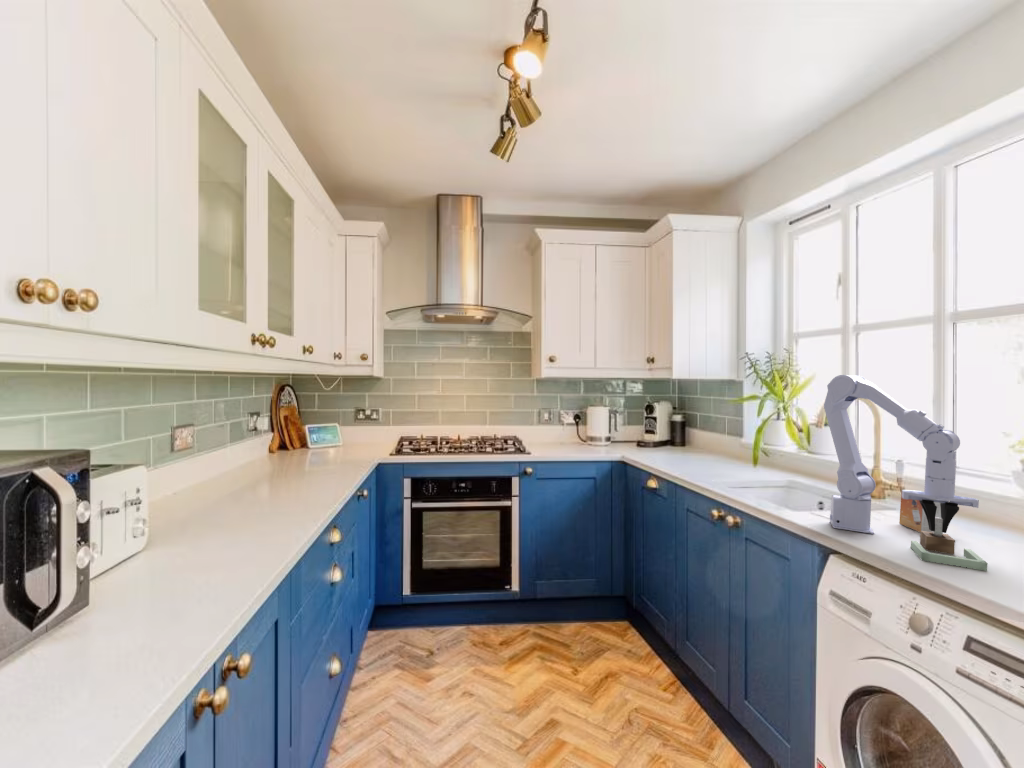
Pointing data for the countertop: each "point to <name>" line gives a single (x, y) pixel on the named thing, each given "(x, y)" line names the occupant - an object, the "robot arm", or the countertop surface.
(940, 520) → the grey upright post
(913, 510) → the small box
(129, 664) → the countertop surface
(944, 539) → the walnut block
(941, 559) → the green u-shaped bracket
